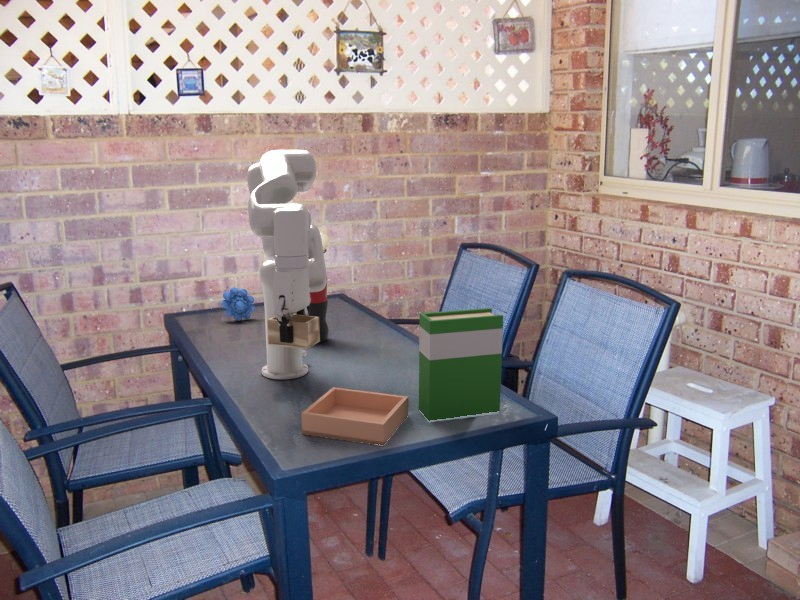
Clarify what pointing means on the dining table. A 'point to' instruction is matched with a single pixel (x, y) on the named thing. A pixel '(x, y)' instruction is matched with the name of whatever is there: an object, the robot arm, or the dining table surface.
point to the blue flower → (238, 303)
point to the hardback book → (459, 363)
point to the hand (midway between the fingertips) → (294, 337)
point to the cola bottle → (320, 310)
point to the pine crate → (296, 331)
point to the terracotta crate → (355, 415)
